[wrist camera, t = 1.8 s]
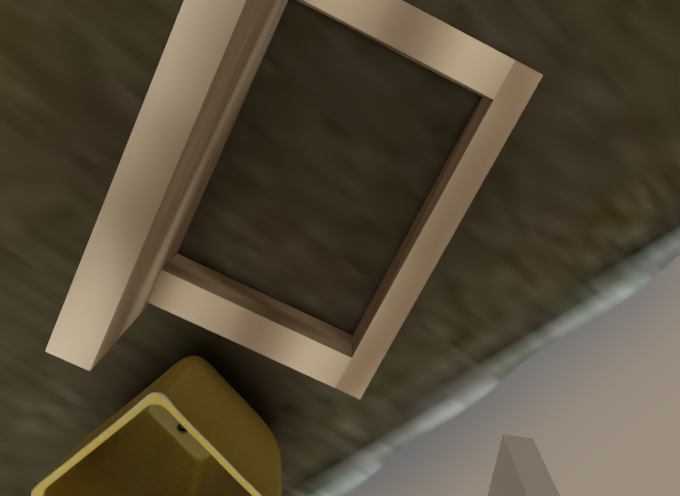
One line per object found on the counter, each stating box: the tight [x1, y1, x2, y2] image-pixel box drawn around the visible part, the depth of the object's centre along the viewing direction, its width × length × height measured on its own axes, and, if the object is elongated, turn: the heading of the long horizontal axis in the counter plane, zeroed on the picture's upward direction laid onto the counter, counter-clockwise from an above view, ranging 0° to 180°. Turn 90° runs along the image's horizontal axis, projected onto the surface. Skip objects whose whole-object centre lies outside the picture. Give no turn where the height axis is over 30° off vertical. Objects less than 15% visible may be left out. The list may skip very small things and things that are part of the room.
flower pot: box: [31, 356, 282, 496], centre depth 34 cm, size 9×9×9 cm
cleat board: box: [45, 0, 543, 399], centre depth 29 cm, size 14×20×10 cm
